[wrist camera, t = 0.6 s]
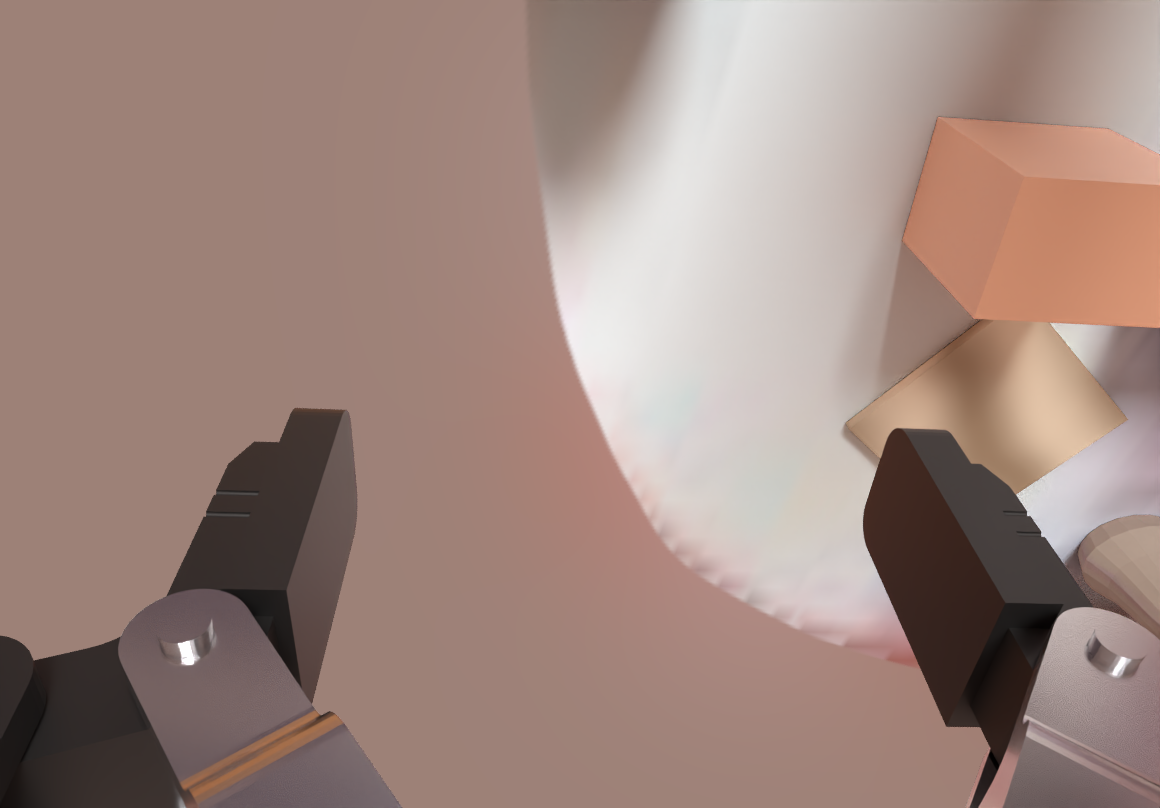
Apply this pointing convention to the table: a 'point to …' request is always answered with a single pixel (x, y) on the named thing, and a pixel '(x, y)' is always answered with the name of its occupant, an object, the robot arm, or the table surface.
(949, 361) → the birch coaster
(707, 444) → the table surface
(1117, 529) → the decorative mushroom
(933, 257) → the peach rectangular brick
